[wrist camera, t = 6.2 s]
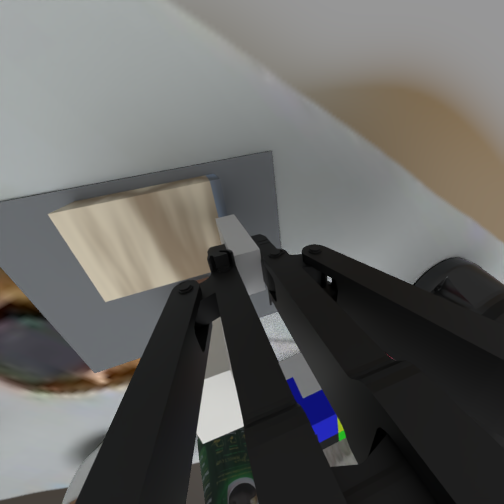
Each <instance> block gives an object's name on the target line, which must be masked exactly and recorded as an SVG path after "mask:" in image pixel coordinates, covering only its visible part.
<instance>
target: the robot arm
mask: <svg viewBox="0 0 504 504" xmlns="http://www.w3.org/2000/svg"><path fill="white" fill-rule="evenodd" d="M215 220H216V224H217V228H218V232H219V236H220V240H221V245H217V246H214V247H210V248H209V249H208V251H207V253H208V257H207V261H208V264H209V267H210V271H211V275H210V276H209V278H208V279H206V280H205V281H203V282H201V283H198V282H197V281H195V280H187V281H183V282H181V283H179V284H178V285H176V286H175V287H174V288H173V289H172V291H171V293H170V295H169V298H168V300H167V302H166V304H165V306H164V309H163V311H162V313H161V315H160V317H159V320H158V322H157V324H156V326H155V328H154V331H153V333H152V335H151V337H150V339H149V342H148V344H147V346H146V348H145V350H144V353H143V355H142V357H141V359H140V361H139V364H138V366H137V368H136V370H135V372H134V375H133V377H132V379H131V381H130V383H129V386H128V388H127V390H126V392H125V394H124V397H123V399H122V401H121V403H120V405H119V408H118V410H117V412H116V414H115V416H114V419H113V421H112V423H111V425H110V427H109V430H108V432H107V434H106V436H105V438H104V441H103V443H102V445H101V447H100V449H99V452H98V454H97V456H96V458H95V460H94V463H93V465H92V467H91V469H90V471H89V474H88V476H87V478H86V480H85V482H84V485H83V487H82V489H81V491H80V493H79V496H78V498H77V500H76V502H75V504H186V497H187V492H188V485H189V478H190V471H191V465H192V458H193V452H194V445H195V439H196V432H197V425H198V419H199V412H200V405H201V399H202V392H203V386H204V379H205V372H206V366H207V359H208V352H209V346H210V339H211V332H212V326H213V325H212V321H214V320H216V319H217V318H219V317H221V321H222V326H223V330H224V335H225V340H226V344H227V349H228V354H229V358H230V363H231V368H232V372H233V377H234V381H235V386H236V391H237V395H238V400H239V405H240V409H241V414H242V419H243V424H244V435H245V440H246V445H247V451H248V455H249V460H250V465H251V470H252V474H253V479H254V484H255V489H256V494H257V498H258V503H259V504H504V285H503V284H502V283H501V282H500V281H498V280H497V279H496V278H494V277H493V276H492V275H490V274H489V273H487V272H486V271H485V270H483V269H482V268H481V267H480V266H479V265H477V264H475V263H472V262H470V261H467V260H465V259H462V258H451V259H448V260H445V261H443V262H441V263H439V264H438V265H436V266H434V267H433V268H432V269H430V270H429V271H428V272H427V273H426V274H424V275H423V276H422V277H421V278H420V279H419V281H418V282H417V283H416V284H415V285H412V284H409V283H407V282H405V281H402V280H400V279H398V278H396V277H393V276H391V275H389V274H386V273H384V272H382V271H380V270H377V269H375V268H373V267H370V266H368V265H366V264H364V263H361V262H359V261H357V260H354V259H352V258H350V257H347V256H345V255H343V254H341V253H338V252H336V251H334V250H331V249H329V248H327V247H325V246H322V245H316V244H313V245H309V246H306V247H304V248H303V249H302V254H299V255H289V254H288V253H287V252H286V251H285V250H283V249H277V248H276V247H275V246H274V245H273V244H272V243H271V242H270V241H269V240H268V238H267V237H266V236H264V235H261V234H258V235H254V236H250V235H249V234H248V233H247V231H246V230H245V229H244V227H243V226H242V224H241V223H240V222H239V220H238V219H237V218H236V216H235V215H234V214H233V215H228V216H224V217H220V218H216V219H215ZM327 276H329V277H331V278H332V283H331V282H329V281H327ZM265 284H266V286H267V288H268V295H269V302H270V306H271V305H272V302H273V304H274V305H275V307H276V309H277V311H278V313H279V314H280V316H281V318H282V320H283V321H284V323H285V325H286V327H287V328H288V330H289V332H290V334H291V336H292V337H293V339H294V341H295V343H296V344H297V346H298V348H299V350H300V351H301V353H302V355H303V357H304V359H305V360H306V362H307V364H308V366H309V367H310V369H311V371H312V373H313V374H314V376H315V378H316V380H317V382H318V383H319V385H320V387H321V389H322V390H323V392H324V394H325V396H326V398H327V399H328V401H329V403H330V405H331V406H332V408H333V410H334V412H335V413H336V415H337V417H338V419H339V421H340V423H341V424H342V427H343V429H344V432H345V435H346V439H347V442H348V444H349V447H350V449H351V451H352V453H353V455H354V457H355V459H356V461H357V463H358V464H357V465H346V466H334V467H330V465H329V463H328V461H327V458H326V456H325V454H324V452H323V450H322V448H321V445H320V443H319V441H318V439H317V437H316V434H315V432H314V430H313V428H312V426H311V424H310V421H309V419H308V417H307V415H306V413H305V411H304V410H303V408H302V407H301V405H299V404H298V403H297V402H296V400H295V398H294V396H293V394H292V392H291V390H290V387H289V385H288V383H287V380H286V378H285V376H284V374H283V371H282V369H281V367H280V365H279V362H278V360H277V358H276V356H275V353H274V351H273V349H272V346H271V344H270V342H269V340H268V337H267V335H266V333H265V331H264V328H263V326H262V324H261V321H260V319H259V317H258V315H257V312H256V310H255V308H254V306H253V303H252V301H251V299H250V296H249V295H251V294H255V293H258V292H261V291H264V290H266V288H265ZM387 354H388V355H389V356H390V357H392V358H393V359H394V360H393V359H391V358H390V357H389V356H388V355H387ZM395 360H396V361H395Z"/></svg>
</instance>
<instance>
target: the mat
mask: <svg viewBox="0 0 504 504" xmlns="http://www.w3.org/2000/svg"><path fill="white" fill-rule="evenodd" d="M209 174H215V175H216V176H217V177H218V178H219V179H220V182H221V187H222V191H223V196H224V200H225V205H226V210H227V214H228V215H233V214H234V215H235V216H236V218H237V219H238V220H239V222H240V223H241V224H242V226H243V227H244V229H245V230H246V231H247V233H248V234H249V235H250V236H254V235H258V234H261V235H264V236H266V237H267V238H268V240H269V241H270V242H271V243H272V244H273V245H274V246H275V247H276V248H277V249H281V241H280V230H279V220H278V209H277V199H276V188H275V177H274V167H273V156H272V151H267V152H261V153H256V154H251V155H245V156H240V157H235V158H230V159H224V160H219V161H214V162H208V163H203V164H198V165H193V166H187V167H182V168H177V169H171V170H166V171H161V172H155V173H150V174H145V175H140V176H134V177H129V178H124V179H118V180H113V181H108V182H103V183H97V184H92V185H87V186H81V187H76V188H71V189H66V190H60V191H55V192H50V193H44V194H39V195H34V196H28V197H23V198H18V199H13V200H7V201H2V202H0V267H1V268H2V269H3V270H4V271H5V273H6V274H7V275H8V276H9V277H10V278H11V279H12V280H13V282H14V283H15V284H16V285H17V286H18V287H19V288H20V289H21V291H22V292H23V293H24V294H25V295H26V296H27V297H28V298H29V300H30V301H31V302H32V303H33V304H34V305H35V306H36V307H37V309H38V310H39V311H40V312H41V313H42V314H43V315H44V316H45V318H46V319H47V320H48V321H49V322H50V323H51V324H52V326H53V327H54V328H55V329H56V330H57V331H58V332H59V333H60V335H61V336H62V337H63V338H64V339H65V340H66V341H67V342H68V344H69V345H70V346H71V347H72V348H73V349H74V350H75V351H76V353H77V354H78V355H79V356H80V357H81V358H82V359H83V360H84V362H85V363H86V364H87V365H88V366H89V367H90V368H91V369H92V371H93V372H94V373H97V372H100V371H103V370H105V369H108V368H111V367H114V366H117V365H120V364H123V363H126V362H129V361H132V360H135V359H138V358H141V357H142V355H143V353H144V350H145V348H146V346H147V344H148V342H149V339H150V337H151V335H152V333H153V331H154V328H155V326H156V324H157V322H158V320H159V317H160V315H161V313H162V311H163V309H164V306H165V304H166V302H167V300H168V298H169V295H170V293H171V291H172V289H173V288H174V287H175V286H176V285H178V284H179V283H181V282H183V281H187V280H195V281H196V280H200V279H203V278H207V277H209V276H210V275H211V272H210V273H206V274H203V275H199V276H196V277H192V278H189V279H185V280H182V281H178V282H175V283H171V284H168V285H164V286H160V287H157V288H153V289H150V290H146V291H143V292H139V293H136V294H132V295H129V296H125V297H122V298H118V299H115V300H111V301H108V302H105V301H104V299H103V298H102V296H101V295H100V293H99V292H98V290H97V289H96V287H95V286H94V284H93V283H92V281H91V280H90V278H89V277H88V275H87V273H86V272H85V270H84V269H83V267H82V266H81V264H80V263H79V261H78V260H77V258H76V257H75V255H74V254H73V252H72V251H71V249H70V248H69V246H68V245H67V243H66V242H65V240H64V238H63V237H62V235H61V234H60V232H59V231H58V229H57V228H56V226H55V225H54V223H53V222H52V220H51V219H50V217H49V216H48V214H49V213H51V212H53V211H55V210H57V209H60V208H62V207H64V206H66V205H68V204H70V203H72V202H74V201H79V200H84V199H89V198H94V197H99V196H104V195H109V194H114V193H119V192H124V191H129V190H134V189H139V188H144V187H149V186H154V185H159V184H164V183H169V182H174V181H179V180H184V179H189V178H194V177H199V176H204V175H209ZM265 288H266V290H264V291H261V292H258V293H255V294H251V295H249V296H250V299H251V301H252V303H253V306H254V308H255V310H256V312H257V315H258V317H259V318H260V317H263V316H266V315H269V314H272V313H275V312H278V311H277V309H276V307H275V305H274V304H273V302H272V305H271V306H270V302H269V295H268V288H267V286H266V284H265Z"/></svg>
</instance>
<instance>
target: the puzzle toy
mask: <svg viewBox="0 0 504 504" xmlns="http://www.w3.org/2000/svg"><path fill="white" fill-rule="evenodd" d="M279 365H280V367H281V369H282V371H283V374H284V376H285V378H286V380H287V383H288V385H289V387H290V390H291V392H292V394H293V396H294V398H295V400H296V402H297V403H298V404H299V405H301V407H302V408H303V410H304V411H305V413H306V415H307V417H308V419H309V421H310V424H311V426H312V428H313V430H314V432H315V434H316V437H317V439H318V441H319V443H320V445H321V448H322V450H323V449H325V448H327V447H329V446H331V445H333V444H335V443H337V442H339V441H341V440H343V439H344V438H346V435H345V432H344V429H343V427H342V424H341V423H340V421H339V419H338V417H337V415H336V413H335V412H334V410H333V408H332V406H331V405H330V403H329V401H328V399H327V398H326V396H325V394H324V392H323V390H322V389H321V387H320V385H319V383H318V382H317V380H316V378H315V376H314V374H313V373H312V371H311V369H310V367H309V366H308V364H307V362H306V360H305V359H304V357H303V355H302V353H301V352H300V353H298V354H296V355H294V356H291V357H289V358H287V359H285V360H282V361H280V362H279Z"/></svg>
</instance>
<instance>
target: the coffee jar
mask: <svg viewBox="0 0 504 504" xmlns="http://www.w3.org/2000/svg"><path fill="white" fill-rule="evenodd" d="M198 452H199V460H200V467H201V475H202V481H203V489H204V497H205V504H259V503H258V498H257V494H256V489H255V484H254V479H253V474H252V470H251V465H250V460H249V455H248V451H247V445H246V440H245V435H244V427H241V428H239V429H237V430H234V431H232V432H230V433H227V434H225V435H223V436H220V437H218V438H216V439H213V440H211V441H209V442H206V443H204V444H203V443H202V441H201V440H200V438H199V437H198Z"/></svg>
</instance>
